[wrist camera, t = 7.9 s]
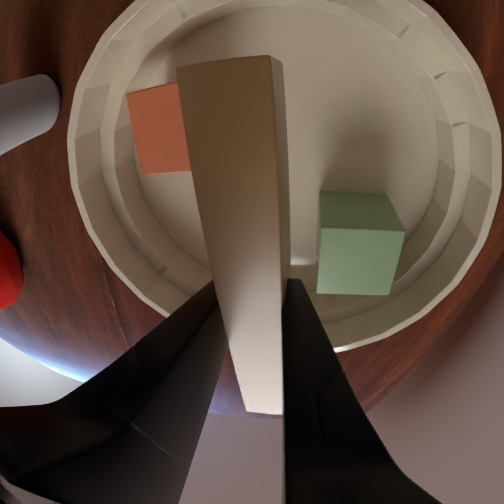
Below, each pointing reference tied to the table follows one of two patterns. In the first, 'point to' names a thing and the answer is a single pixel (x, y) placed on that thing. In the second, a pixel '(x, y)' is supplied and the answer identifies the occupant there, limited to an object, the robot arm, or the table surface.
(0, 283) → the tomato
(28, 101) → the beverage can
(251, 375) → the long tan beam
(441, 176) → the bowl
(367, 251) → the sage block
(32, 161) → the table surface
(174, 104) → the terracotta block
